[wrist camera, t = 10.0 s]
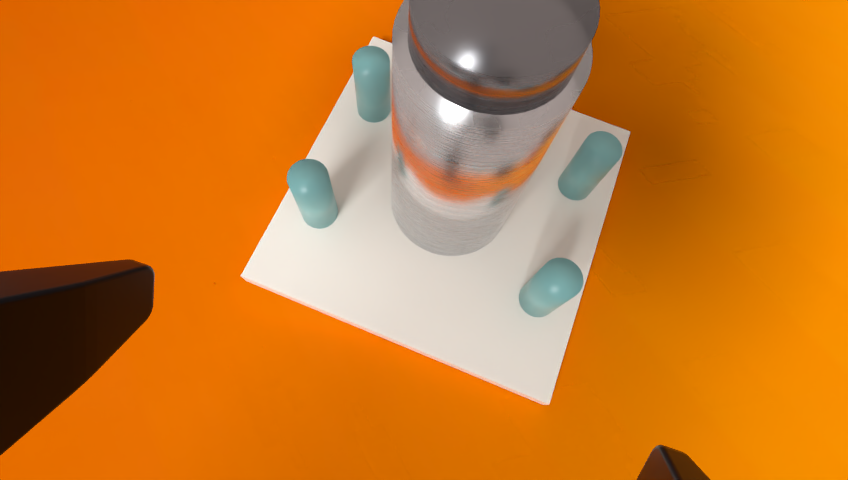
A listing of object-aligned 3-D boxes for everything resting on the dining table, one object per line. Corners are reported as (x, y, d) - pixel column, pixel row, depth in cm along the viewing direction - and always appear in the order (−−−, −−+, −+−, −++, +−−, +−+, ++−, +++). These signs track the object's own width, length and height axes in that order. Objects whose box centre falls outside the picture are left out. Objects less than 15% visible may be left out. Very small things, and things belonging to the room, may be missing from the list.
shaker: (455, 280, 22) (524, 136, 11) (366, 202, 23) (344, -4, 12) (530, 198, 24) (658, -3, 12) (443, 128, 25) (489, -117, 13)
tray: (543, 405, 21) (579, 401, 17) (245, 280, 22) (213, 250, 18) (623, 139, 26) (666, 88, 22) (373, 47, 27) (370, -19, 23)
